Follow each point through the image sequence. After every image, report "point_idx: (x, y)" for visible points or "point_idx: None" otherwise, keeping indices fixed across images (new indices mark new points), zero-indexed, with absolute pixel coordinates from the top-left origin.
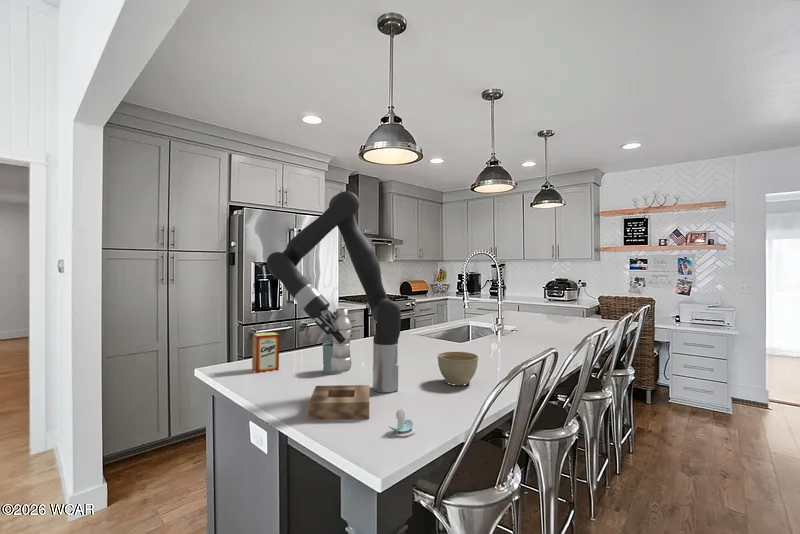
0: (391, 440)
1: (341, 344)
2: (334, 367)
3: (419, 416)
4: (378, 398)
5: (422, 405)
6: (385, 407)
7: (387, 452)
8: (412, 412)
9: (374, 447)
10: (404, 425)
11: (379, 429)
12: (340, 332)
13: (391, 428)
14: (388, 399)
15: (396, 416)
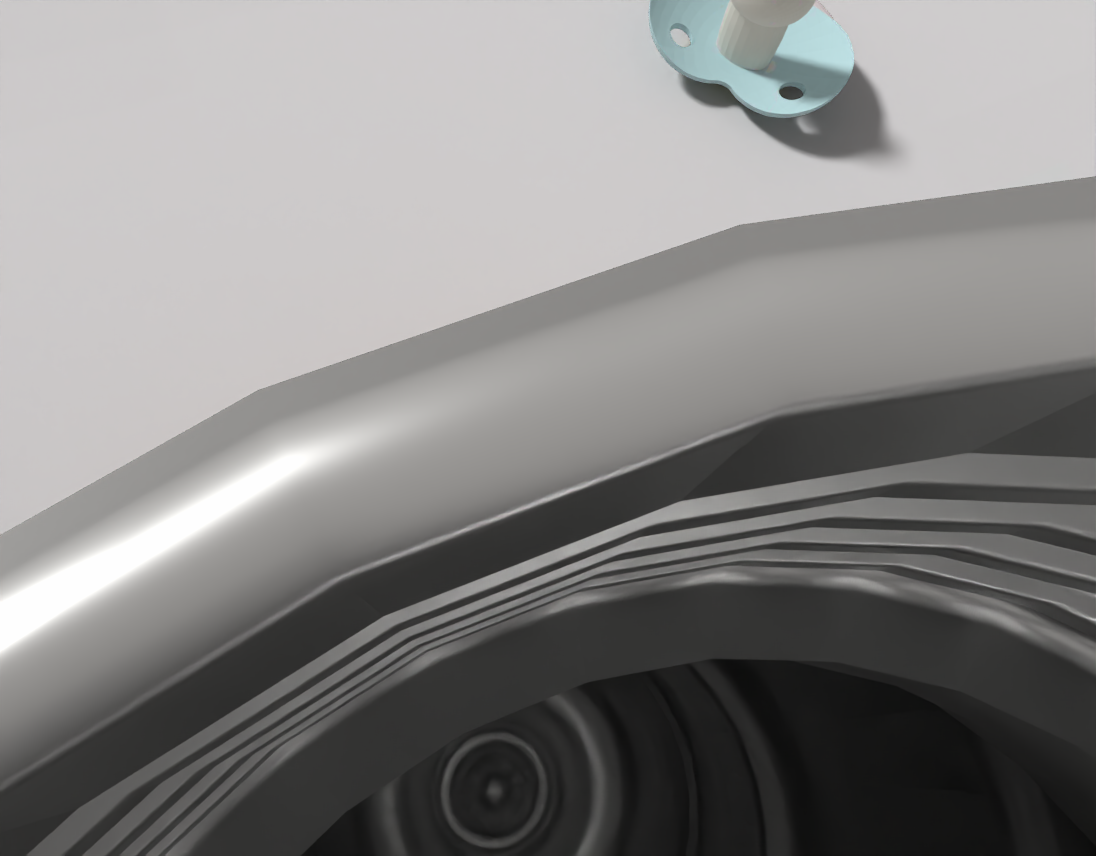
0: (904, 80)
1: (739, 718)
2: (681, 834)
3: (389, 16)
4: (28, 517)
5: (109, 54)
6: (277, 348)
7: (1072, 50)
8: (318, 89)
9: (1054, 147)
10: (695, 34)
11: (772, 219)
12: (951, 736)
13: (843, 78)
14: (30, 404)
15: (810, 8)
